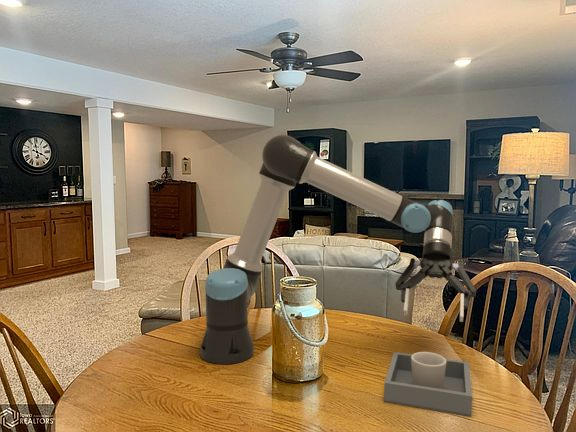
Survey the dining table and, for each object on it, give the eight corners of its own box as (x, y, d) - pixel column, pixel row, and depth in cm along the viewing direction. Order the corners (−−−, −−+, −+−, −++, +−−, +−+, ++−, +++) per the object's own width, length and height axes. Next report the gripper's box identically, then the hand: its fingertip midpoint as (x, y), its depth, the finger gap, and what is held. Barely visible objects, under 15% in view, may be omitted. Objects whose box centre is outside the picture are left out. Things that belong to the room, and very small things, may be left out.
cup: (404, 377, 115) (405, 346, 114) (436, 378, 114) (438, 347, 113) (414, 398, 104) (415, 365, 103) (449, 399, 103) (450, 366, 103)
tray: (383, 401, 103) (384, 382, 103) (393, 368, 121) (393, 351, 120) (471, 416, 97) (472, 396, 97) (468, 379, 114) (468, 361, 114)
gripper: (484, 258, 127) (485, 328, 114) (393, 252, 135) (384, 317, 123) (486, 242, 121) (487, 314, 109) (391, 237, 130) (382, 303, 117)
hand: (432, 316), depth 116 cm, fingers open, 13 cm apart
